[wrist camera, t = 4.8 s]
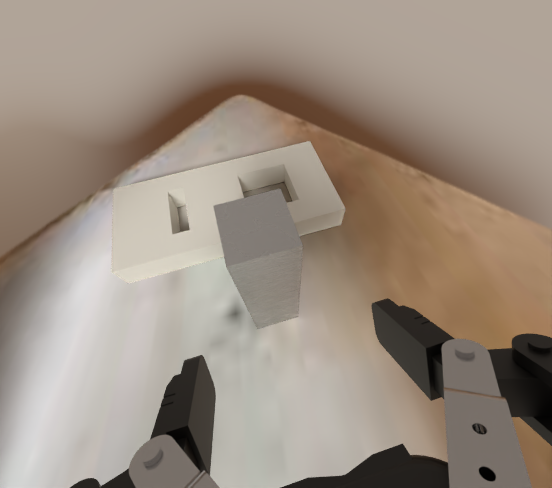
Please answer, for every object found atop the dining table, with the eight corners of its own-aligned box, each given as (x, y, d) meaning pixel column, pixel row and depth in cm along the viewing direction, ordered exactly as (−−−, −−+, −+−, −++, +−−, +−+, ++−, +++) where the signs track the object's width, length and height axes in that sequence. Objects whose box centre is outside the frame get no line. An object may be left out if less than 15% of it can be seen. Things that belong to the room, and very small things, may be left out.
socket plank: (127, 283, 29) (111, 272, 26) (126, 204, 34) (113, 188, 31) (341, 224, 31) (345, 208, 28) (308, 159, 36) (309, 140, 34)
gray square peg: (257, 329, 26) (226, 266, 13) (247, 290, 28) (213, 205, 15) (297, 316, 26) (303, 245, 14) (285, 279, 28) (280, 188, 16)
